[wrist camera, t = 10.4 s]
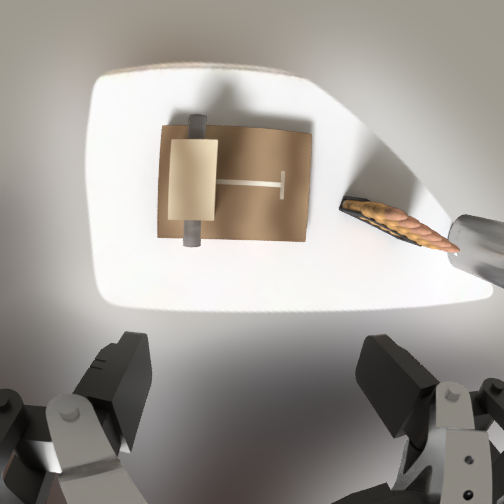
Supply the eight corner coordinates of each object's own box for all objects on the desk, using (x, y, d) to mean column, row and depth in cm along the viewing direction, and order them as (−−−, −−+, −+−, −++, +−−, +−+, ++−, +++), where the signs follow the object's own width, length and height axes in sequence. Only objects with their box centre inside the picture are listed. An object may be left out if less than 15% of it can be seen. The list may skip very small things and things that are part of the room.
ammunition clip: (404, 227, 33) (466, 245, 22) (399, 239, 34) (461, 261, 22) (343, 195, 31) (403, 202, 20) (338, 209, 32) (396, 222, 20)
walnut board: (306, 137, 29) (311, 134, 27) (300, 238, 32) (305, 241, 30) (165, 129, 27) (162, 125, 25) (161, 234, 30) (157, 237, 28)
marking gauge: (219, 125, 26) (219, 112, 21) (214, 239, 29) (213, 249, 24) (181, 125, 25) (173, 112, 21) (176, 238, 28) (168, 248, 23)
